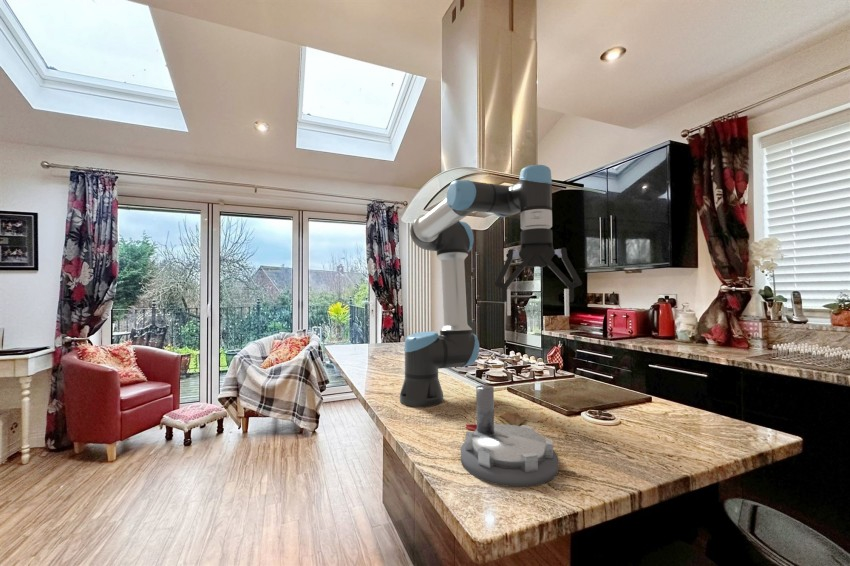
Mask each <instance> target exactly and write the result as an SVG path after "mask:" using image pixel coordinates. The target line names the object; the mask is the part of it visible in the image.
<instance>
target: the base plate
mask: <svg viewBox="0 0 850 566" xmlns="http://www.w3.org/2000/svg"><path fill="white" fill-rule="evenodd" d="M460 463H461V466H462V467H463V468H464V470H465V471H467V472H468V473H469V474H470V475H472V476H474V477H476V478H478V479H479V480H481V481H484V482H487V483H491V484H494V485H497V486H498V485H499V486H504V487H510V488H511V487H513V488H514V487H515V488H529V487H535V486H540V485H543V484H546V483H549V482H551V481H552V480H554V478H556V477H557V475H558V474H559V456H558V454H557V452H556V451H555V450H554V449H553V459H552V458H546V459H545V461H544V462H543V463H541V464H540V465H538V470H537V471H531V472H524V471H523V470H522V469H508V468H501V467H496V466H493V467H491V468H487V467H485V466H482V465H480V464H478V458H477V457H475V455H474V454H473V452H472V450H465V442H463V444H462V445H461V447H460Z"/></svg>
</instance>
